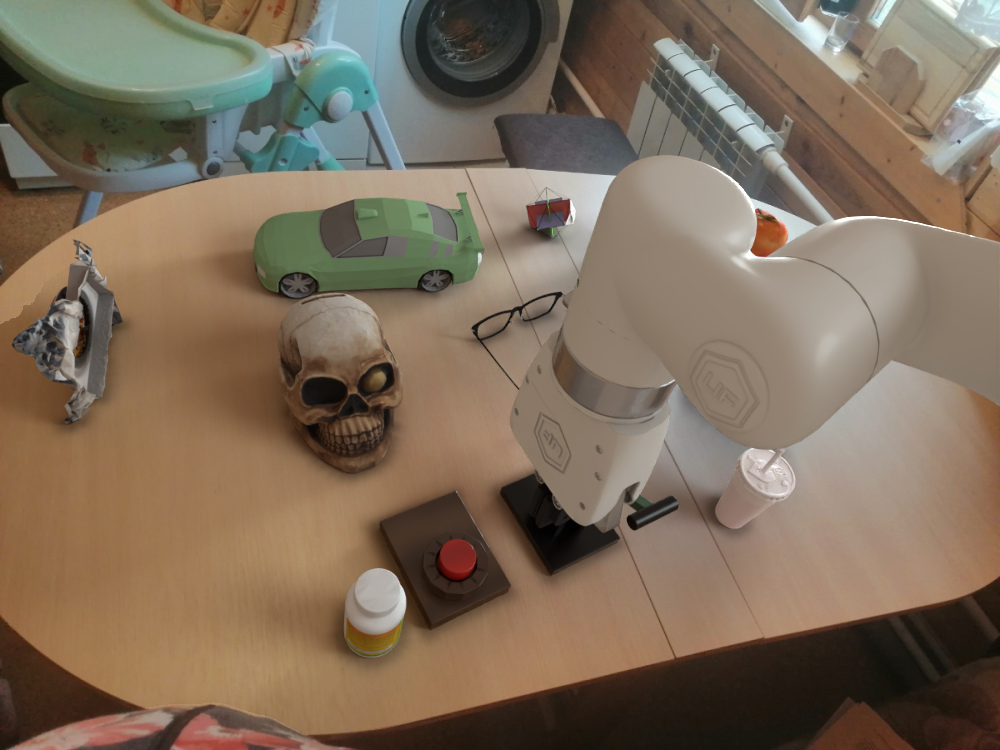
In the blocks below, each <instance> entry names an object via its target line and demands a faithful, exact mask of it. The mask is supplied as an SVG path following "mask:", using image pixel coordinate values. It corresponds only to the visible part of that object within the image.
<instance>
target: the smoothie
mask: <svg viewBox="0 0 1000 750" xmlns="http://www.w3.org/2000/svg"><path fill="white" fill-rule="evenodd" d="M784 452H786V449H785V448H782V449H777V451H774V450H760V449H754V448H751V447H750V448H748V449H747V450H745V451H744V452H743V453H742V454H741V455H740V456H739V457H738V459H737V461H736V463H735V470H734V471H733V473H732V475H731V477H730V479H729V481H728V483H727V485H726V486H725V489H724V490H723V492H722V495H721V496H720V498H719V500H718V502H717V504H716V505H715V507H714V513H715V517H716V519H717V520H718V522H719V523H720V524H722V525H723V526H724V527H726V528H728V529H731V530H738V529H740V528H742V527H743V526H745V525H746V524H748V523H749V522H751V521H752V520H753V519H754V518H756V517H758V516H759V515H760V514H761V513H763V512H764V511H765V510H767V509H768V508H770V507H771V506H773V505H774V504H776V503H777V502H782V501H784V500H786V499H787V498H788V497H789V496H790V495H791V494H792V493H793V491H794V489H795V486H796V476H795V472H794V470H793V468H792V466H791V465H790V464H789V463H788V461H787V460H786V459H785V458H784V457H783V456H782V455H783V454H784Z"/></svg>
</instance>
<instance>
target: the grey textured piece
mask: <svg viewBox="0 0 1000 750" xmlns="http://www.w3.org/2000/svg"><path fill="white" fill-rule="evenodd" d="M72 241H73V244H72V245H74V246H75V249H76V250H75V253H74V255H75V257H74V259H76V260H78V261H76V262H75V261H74V262H73V263H69V270H68V277H67V285H66V286H63V287H62V288H60V290H59V291H58V292H57V293H56V295H55V296H54V297H53V299H52V301H51V304H50V305H49V309H48V311H47V312H46V313H45V314H44V315H43V316H42V317H36V319H35V321H34V322H33V323H32V324H31V325H29V326H28V327H26V328H25V329H24V330H22V331H21V332H19V333H18V334H17V335H16V336H15V337H14V338H13V340H12V343H11V346H12V348H13V349H14V350H15V351H16V352H17V353H20V354H22V355H25V356H29V357H31V358H34V361H35V365H36V368H37V369H38V371H39V373H40V374H42V376H44V377H45V378H47V379H48V380H50V381H51V382H52V383H59V384H62V385H64V386H65V387H67V388H68V389H71V390H74V392H73V394H72V395H70V398H69V400H68V401H67V402H65V405H64V406H63V407H64V408H65V409H66V412H67V413H68V416H67V417H65V418H64V420H63V423H64V424H65V425H67V426H68V425H71V424H73V423H75V422H78V421H80V420H81V419H83V417H84V416H85V415H86V414H87V413H89V412H90V410H91V409H92V408H93V407H91V406H90V405H91V404H92V403H93V402H94V401H95V400H97V399H102V398H103V397H104V392H105V390H106V389H105V388H106V374H107V371H108V363H109V362H108V361H109V355H108V354H109V343H110V340H111V338H113V332H112V328H113V326H116V325H120V324H122V323H123V322H124V321H123V318H122V315H121V313H120V310H119V307H118V304H117V303H116V299H115V292H114V291H112V290H110V289H108V285H107V284H108V283H107V275H104V277H103V276H102V275H101V273H100V272H99V270H98V269H97V266H98V265H97V263H96V260H95V258H94V253H93V248H91V247H89V246H88V245H87V244H86V243H84V242H82V241H80V240H78V239H72ZM81 244H82V245H81ZM83 247H84V248H83ZM89 406H90V407H89Z"/></svg>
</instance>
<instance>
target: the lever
mask: <svg viewBox="0 0 1000 750" xmlns="http://www.w3.org/2000/svg"><path fill="white" fill-rule="evenodd" d="M628 506H629V507H630V508H632V509H633V510H634V511H635V512H632V513H630V514H628V515H627V516H626V517H625V518H626V523H627V526H628V527H629V529H630V530H631V531H635V532H636V531H638V530H640V529H642V528H644V527H646V526H648V525H650V524H652V523H654V522H656V521H658V520H661V519H662V518H664V517H667V516H668V515H670V514H672V513H674V512H677V511H678V510H679V508H680V504H679V501H678V499H677V497H675V496H674V495H668V496H666V497H663V498H661V499H659V500H657V501H655V502H653V501H651V500H649V499H648V498H646V497H645V496H643V495H641V494H640V495H639V496H638V498H637V499H636V500H635V502H634V503H632V504H631V505H628Z"/></svg>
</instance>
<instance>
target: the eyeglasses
mask: <svg viewBox="0 0 1000 750" xmlns="http://www.w3.org/2000/svg"><path fill="white" fill-rule="evenodd" d="M565 295H566V293H563V292H562V291H554V292H553V291H552V292H549V293H546V294H542V295H540V296H537V297H535V298H533V299H531V300H528V301H527V302H525V303H523V304H522V305H517V306H514V307H512V308H511V309H506V310H505V309H504V310H502V311H498V312H496V313H493V314H491V315H489V316H487V317H484V318H483V319H481V320H479V321H478V322H476V323H475V324H473V325H472V326H471V327H470V331H471V333H472V335H474V337H475V338H476V340H477V341H478V342H479V343H480V344H481V345H482V347H483V349H485V351H486V352H487V353H488V354H489V356H490V357H491V358H492V359H493V360H494V362H495V363H496V364H497V366H498V367H499V368H500V369H501V371H502V372H503V374H504V375H505V376H506V377H507V379H509V381H510V382H511V383H512V384H513V385H514V387H515V388H516V389H517V390H518V391H519V388H520V386H518V385H517V384H516V383H515V382H514V381H513V378H511V377H510V376H509V374H508V373H507V372H506V370H505V369H504V368H503V367H502V365H501V364H500V363H499V361H498V360H497V359H496V357H495V356H494V355H493V354H492V352H491V351H490V350H489V348H488V347H487V345H486V344H485V343H484V342H483V341H486V340H488V339H491V338H494V337H495V336H497V335H499V334H501V333H502V332H504V331H505V330H506V328H508V326H509V324H511V325H512V324H513V323H514V321H515V318H513V317H514V315H515V314H516V312H518V314H519V315H518V316H519V317H520V320H521V321H523V322H525V323H527V322H531V321H536V320H538V319H540V318H542V317H545V316H547V315H548V314H550V313H551V312H552V310H553V309H554V307H555V306H556V305H557V303H558V302H559V299H561V298H562V297H563V298H564V296H565ZM549 297H554V300H553V302H552V304H551V306H550V307H549V308H548V310H547V311H545V312H543V313H541V314H540V315H537V316H534V317H532V318H527V319H525V318H524V315H523V311H524V309H525V308H526V307H527V306H529V305H531V304H533V303H535V302H536V301H539V300H542V299H546V298H549ZM504 314H509V317H508V319H507V321H506V322H505V324H504V325H503V327H502V328H500V330H498V331H496V332H494V333H492V334H490V335H488V336H487V335H486V336H484V337H481V338H480V336H479V327H480V326H481V325H483V324H484V323H486V322H487V321H490V320H491V319H493V318H495V317H498V316H501V315H504Z"/></svg>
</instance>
